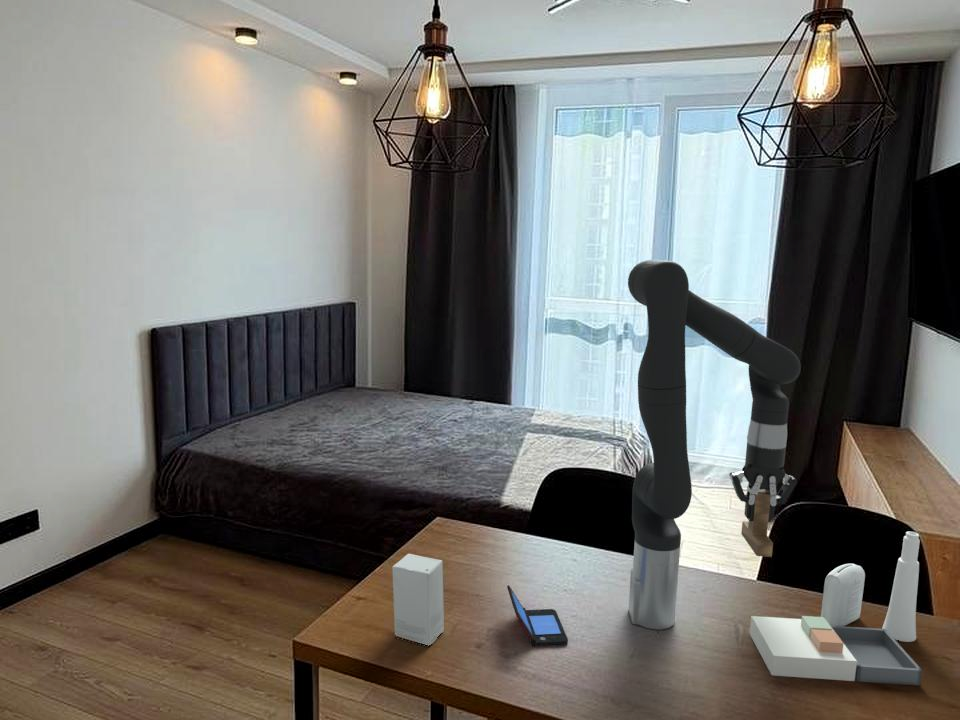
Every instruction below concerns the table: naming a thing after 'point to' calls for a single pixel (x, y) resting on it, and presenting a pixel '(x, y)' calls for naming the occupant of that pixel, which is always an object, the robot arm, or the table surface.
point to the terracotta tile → (826, 641)
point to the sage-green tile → (814, 624)
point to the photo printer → (843, 595)
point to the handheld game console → (539, 624)
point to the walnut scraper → (759, 526)
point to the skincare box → (418, 598)
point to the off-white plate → (797, 651)
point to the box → (879, 656)
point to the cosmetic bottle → (904, 592)
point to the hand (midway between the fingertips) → (758, 520)
